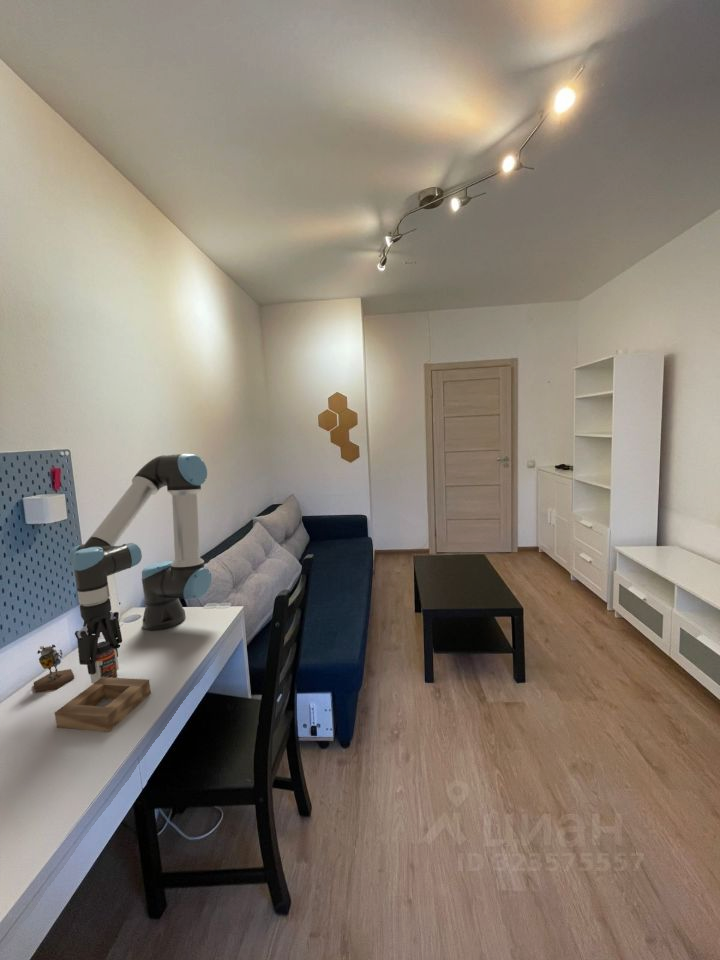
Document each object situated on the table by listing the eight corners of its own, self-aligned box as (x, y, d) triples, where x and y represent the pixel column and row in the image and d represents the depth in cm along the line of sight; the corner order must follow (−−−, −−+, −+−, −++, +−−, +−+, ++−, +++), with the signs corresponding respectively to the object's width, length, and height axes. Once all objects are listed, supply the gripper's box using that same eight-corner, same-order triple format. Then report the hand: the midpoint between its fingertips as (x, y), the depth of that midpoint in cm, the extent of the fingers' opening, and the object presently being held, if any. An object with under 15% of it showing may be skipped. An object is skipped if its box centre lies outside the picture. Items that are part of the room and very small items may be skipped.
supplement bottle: (106, 687, 119) (101, 650, 118) (89, 685, 120) (83, 649, 119) (122, 675, 125) (117, 639, 124) (105, 673, 126) (100, 638, 125)
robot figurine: (82, 670, 129) (76, 633, 128) (68, 687, 120) (62, 648, 119) (42, 676, 127) (36, 639, 126) (24, 694, 118) (18, 655, 117)
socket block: (104, 690, 118) (102, 677, 117) (150, 693, 115) (149, 679, 114) (56, 727, 103) (54, 712, 102) (108, 731, 100) (106, 716, 100)
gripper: (109, 588, 130) (118, 658, 132) (54, 615, 111) (66, 695, 114) (129, 589, 128) (139, 659, 131) (78, 615, 110) (90, 696, 112)
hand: (105, 675), depth 122 cm, fingers closed on supplement bottle, 6 cm apart
